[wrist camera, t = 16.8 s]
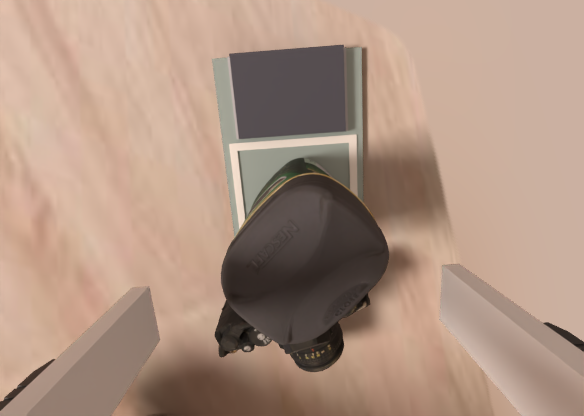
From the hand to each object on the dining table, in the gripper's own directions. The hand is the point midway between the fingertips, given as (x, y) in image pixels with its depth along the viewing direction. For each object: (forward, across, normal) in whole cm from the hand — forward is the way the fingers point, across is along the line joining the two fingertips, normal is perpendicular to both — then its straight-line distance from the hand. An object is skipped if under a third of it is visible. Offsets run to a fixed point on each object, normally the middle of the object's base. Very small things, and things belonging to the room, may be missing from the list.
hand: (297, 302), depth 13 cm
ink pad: (+20, +1, +12) cm, 24 cm away
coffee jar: (+20, +1, 0) cm, 20 cm away
